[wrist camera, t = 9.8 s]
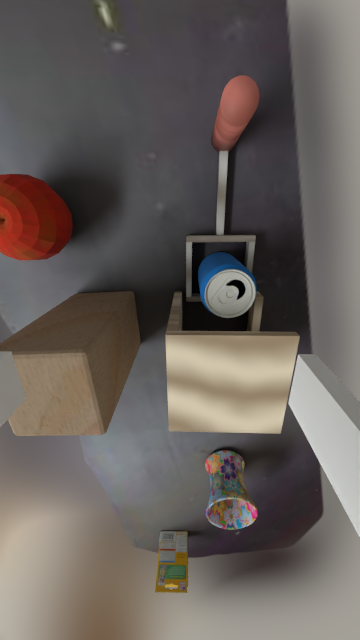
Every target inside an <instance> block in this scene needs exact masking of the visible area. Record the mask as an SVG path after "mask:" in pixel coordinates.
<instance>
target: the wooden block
mask: <svg viewBox="0 0 360 640" xmlns="http://www.w3.org/2000/svg"><path fill="white" fill-rule="evenodd" d="M140 344H141V340H140V333H139V325H138V318H137V311H136V303H135V296H134V293H133V291H119V292H98V293H77V294H74V295H73V296H71V297H70V298H68V299H67V300H65V301H64V302H62V303H61V304H59V305H58V306H56V307H55V308H53V309H52V310H50V311H49V312H47V313H46V314H44V315H43V316H41V317H39V318H38V319H36V320H35V321H33V322H32V323H30V324H29V325H27V326H26V327H24V328H23V329H21V330H20V331H18V332H17V333H15V334H14V335H12V336H11V337H9V338H8V339H6V340H5V341H3V342H2V343H0V351H11V353H12V356H13V359H14V362H15V365H16V368H17V372H18V375H19V378H20V381H21V384H22V387H23V391H24V394H25V397H26V400H25V401H24V402H23V403H22V404H21V405H20V406H19V407H18V408H17V409H16V411H15V412H14V413H13V414H12V415H11V416H10V417H9V418H8V421H9V423H10V425H11V428H12V430H13V433H14V434H15V435H17V436H37V435H102V434H105V433H106V431H107V429H108V426H109V423H110V421H111V418H112V416H113V413H114V411H115V408H116V406H117V403H118V401H119V398H120V395H121V393H122V390H123V388H124V385H125V383H126V380H127V378H128V375H129V373H130V370H131V367H132V365H133V362H134V360H135V357H136V355H137V352H138V350H139V347H140Z"/></svg>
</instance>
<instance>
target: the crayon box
mask: <svg viewBox="0 0 360 640" xmlns="http://www.w3.org/2000/svg"><path fill="white" fill-rule="evenodd" d="M165 587H178V588H177V589H173V590H170V589H168V588H167V589H166V588H165ZM187 587H188V532H187V531H161V532H160V542H159V553H158V566H157V578H156V590H155V592H160V593H163V592H164V593H187Z"/></svg>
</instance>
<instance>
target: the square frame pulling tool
mask: <svg viewBox="0 0 360 640" xmlns="http://www.w3.org/2000/svg"><path fill="white" fill-rule="evenodd" d="M258 103H259V90H258V87H257V85H256V83H255V82H254V80H253V79H251V78H250V77H248V76H243V75H241V76H237V77H235V78H233V79H232V80H230V81H229V83H228V84H227V85H226V87H225V89H224V91H223V94H222V98H221V102H220V106H219V110H218V114H217V117H216V121H215V125H214V129H213V133H212V138H211V141H212V145H213V147H214V149H215V150H216V151H218V152H219V174H218V196H217V219H216V235H186V302H202V300H201V295H200V293H191V288H192V242H246V250H245V261H244V266H245V267H246V268H247V269H248V270H249V271H250V272H251V273H252V268H253V258H254V249H255V239H256V236H255V235H224V218H225V200H226V182H227V164H228V152H229V151H230V150H231V149H232V148H233V147H234V145H235V144H236V142H237V141H238V139H239V137H240V136H241V134H242V132H243V131H244V129H245V127H246V126H247V124H248V122H249V121H250V119H251V118H252V116H253V114H254V113H255V111H256V109H257V106H258Z"/></svg>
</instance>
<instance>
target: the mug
mask: <svg viewBox="0 0 360 640" xmlns="http://www.w3.org/2000/svg"><path fill="white" fill-rule="evenodd" d="M244 466H245V463H244V460H243V458H242V457H241V456H240V455H239V454H237V453H236V452H233V451H229V450H221V451H217V452H214V453H212V454H211V455H210V456H209V457H208V458H207V460H206V463H205V467H206V470H207V472H208V473H209V476H210V481H211V494H210V499H209V503H208V506H207V509H206V516H207V519H208V520H209V521H210V522H211V523H212V524H213V525H215V526H217V527H219V528H223V529H240V528H244V527H246V526H249V525H250V524H252V523H253V522H254V521H255V519H256V518H257V514H258V511H257V508H256V506H255V504H254V503H253V501H252V500H251V498H250V496H249V494H248V492H247V490H246V487H245V484H244V479H243V470H244Z"/></svg>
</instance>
